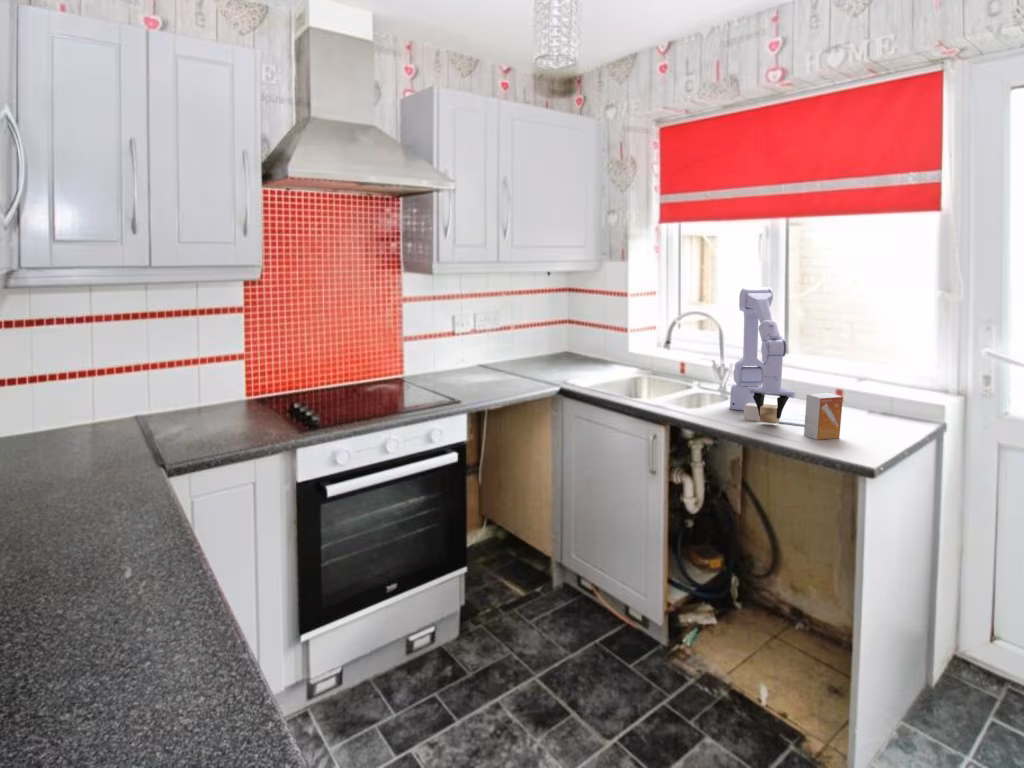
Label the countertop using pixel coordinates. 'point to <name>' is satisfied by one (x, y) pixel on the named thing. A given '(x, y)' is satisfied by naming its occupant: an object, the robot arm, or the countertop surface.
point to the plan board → (792, 418)
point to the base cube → (768, 414)
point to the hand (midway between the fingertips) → (769, 416)
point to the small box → (823, 416)
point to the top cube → (751, 412)
